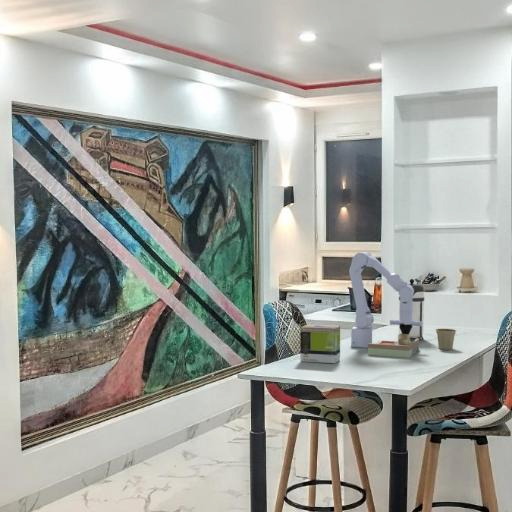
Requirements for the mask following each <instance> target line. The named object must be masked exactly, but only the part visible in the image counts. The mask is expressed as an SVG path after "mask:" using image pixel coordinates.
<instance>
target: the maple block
mask: <svg viewBox="0 0 512 512" xmlns="http://www.w3.org/2000/svg"><path fill="white" fill-rule="evenodd" d="M397 342H398V345H409V344H410V342H411V337H410V334H399V333H398V338H397Z"/></svg>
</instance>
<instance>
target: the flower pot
mask: <svg viewBox="0 0 512 512" xmlns="http://www.w3.org/2000/svg"><path fill="white" fill-rule="evenodd" d="M435 332H436V334H437V342H438V343H437V344H438V349H441V350H452V349H453V347H454V340H455V337H456V336H455V335H456V332H457V329H453V328H436V329H435Z"/></svg>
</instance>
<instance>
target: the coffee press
mask: <svg viewBox="0 0 512 512" xmlns="http://www.w3.org/2000/svg"><path fill="white" fill-rule="evenodd" d="M414 282H415V280H414V279H413V278H410V279H409V283H408V284H407V285H411V286H412V287H413V289H414V294H413V295H412V296H413V299H412V301H413V314H412V321H420V322H422V326H412V328H411V331H410V333H409V334H410V338H415V339H419V341H420V340H421V341H424V336H423V335H424V315H425V314H424V313H425V312H424V309H425V292H426V289H425V288H424V286H423V285H422V284H419V283H418V284H417V283H414ZM398 303H399V304H398V320H400V296H398ZM402 324H403V323H402ZM399 326H400V325H398V335H399V334H402V332H401V330H400V327H399Z"/></svg>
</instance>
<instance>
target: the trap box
mask: <svg viewBox="0 0 512 512" xmlns="http://www.w3.org/2000/svg"><path fill="white" fill-rule="evenodd" d="M419 349H420V340H419V338H415V339H414V340H413V341H410V344H409V345H398V340H397V341H395V340H379V341H377V342H375V343H373V342H372V343H368V348H367V355H368V356H377V357H378V356H380V357H391V358H393V357H394V358H395V357H396V358H407V359H409V358H411V357H412V356H413V355H414V354H416V352H418V351H419Z"/></svg>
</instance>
